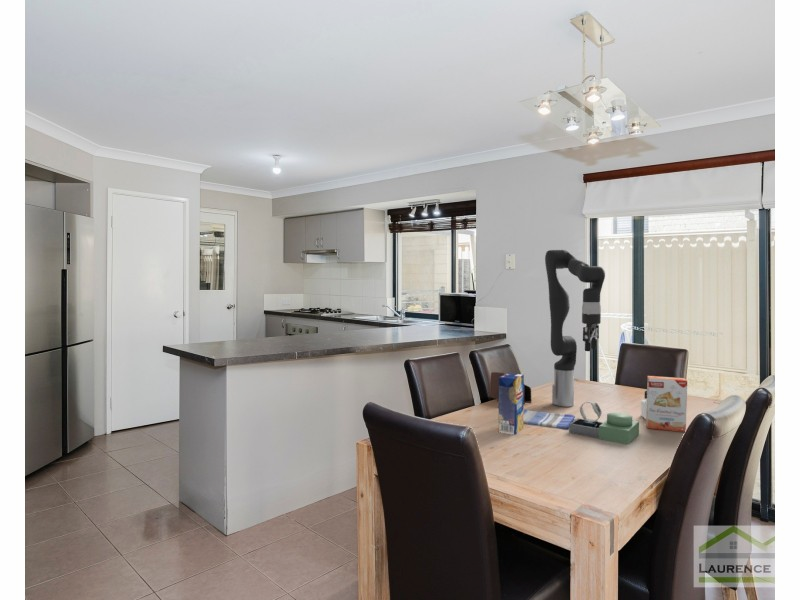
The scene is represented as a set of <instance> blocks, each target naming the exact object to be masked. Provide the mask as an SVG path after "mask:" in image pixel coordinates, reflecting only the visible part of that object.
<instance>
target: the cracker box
mask: <svg viewBox="0 0 800 600" xmlns="http://www.w3.org/2000/svg"><path fill="white" fill-rule="evenodd" d="M646 381H647V382H646V383H647V384H646V391H647V412H646V420H645V422H646V423H645V424H646V427H647V428H646V429H652V430H662V431H672V432H681V433H682V432H683V433H686V432H685V430H686V431H687V407H688V406H687V405H688V403H687V402H688V380H687V379H686V378H683V377H670V376H656V375H647V379H646Z"/></svg>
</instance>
